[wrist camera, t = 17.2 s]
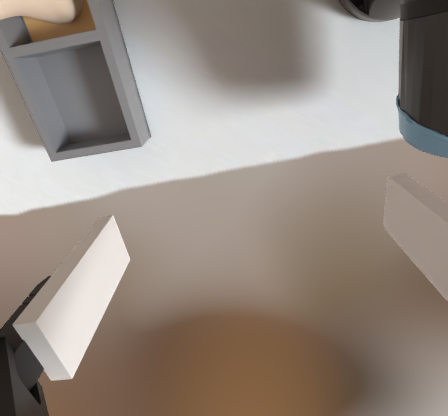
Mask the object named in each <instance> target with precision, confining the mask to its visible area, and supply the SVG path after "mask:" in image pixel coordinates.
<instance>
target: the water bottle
mask: <svg viewBox="0 0 448 416" xmlns="http://www.w3.org/2000/svg"><path fill="white" fill-rule="evenodd" d="M83 3H84V0H0V20H2V19H6V18H9V17H14V16H26V17H31V18H35V19H39V20H42V21H46V22H50V23H54V24H58V25H65V24H69V23H72V22H74V21H75V20H77V18H78V17H79V16H80V14H81V11H82V8H83Z"/></svg>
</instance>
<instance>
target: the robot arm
mask: <svg viewBox="0 0 448 416" xmlns="http://www.w3.org/2000/svg"><path fill="white" fill-rule="evenodd" d="M339 1H340V2H341V4H342V5H343V6H344V8H345V9H346V10H347V11H348V12H350V13H351V14H352V15H354V16H356V17H358V18H360V19H362V20H366V21H372V22H382V21H388V20H393V19H397V18H400V38H399V94H398V96H397V98H396V105H397V108H398V111H399V130H400V133H401V134H402V135H403V138H404V139H405V140H406V142H408V143H409V144H410V145H412V146H413V147H415V148H416V149H419V150H421V151H423V152H426V153H429V154H432V155H436V156H440V157H444V158H448V0H339ZM387 177H388V178H387V188H386V199H385V212H384V222H383V223H384V224H383V227H384V229H385V230H386V231H387V232H388V233H389V234H390V236H391V237H392V238H393V239H394V240H395V241H396V243H397V244H398V245H399V246H400V247H401V248H402V249H403V251H404V252H405V253H406V254H407V255H408V256H409V257H410V259H411V260H412V261H413V262H414V263H415V265H416V266H417V267H418V268H419V269H420V270H421V271H422V273H423V274H424V275H425V276H426V277H427V278H428V280H429V281H430V282H431V283H432V284H433V285H434V286H435V288H436V289H437V290H438V291H439V292H440V294H441V295H442V296H443V297H444V298H445V299H446V300H447V302H448V203H447V202H446V201H444V200H443V199H441V198H440V197H439V196H437V195H436V194H434V193H433V192H431V191H430V190H428V189H427V188H426V187H424V186H423V185H421V184H420V183H418V182H417V181H416V180H414V179H413V178H411V177H410V176H408V175H407V174H406V173H403V174H396V175H388V176H387ZM129 261H130V257H129V255H128V252H127V250H126V247H125V245H124V242H123V240H122V237H121V234H120V232H119V229H118V227H117V224H116V222H115V219H114V216H113V215H110V216H104V217H98V218H97V220H96V221H95V222H94V224H93V225H92V226H91V227H90V228H89V230H88V231H87V232H86V233H85V235H84V236H83V237H82V238H81V240H80V241H79V242H78V243H77V245H76V246H75V247H74V248H73V250H72V251H71V252H70V253H69V255H68V256H67V257H66V258H65V260H64V261H63V262H62V263H61V265H60V266H59V267H58V268H57V270H56V271H55V272H54V273H53V275H52V276H48V277H47V278H46V279H44V280H43V281H42V282H41V283H39V284H38V285H37V286H36V287H35V288H34V290H33V291H32V292H31V293H30V295H29V297H27V298H26V299H25V300H24V302H23V303H22V305H21V306H19V308H18V309H17V310H16V311H15V312H14V314H13V315H12V316H11V317H10V318H9V320H8V321H7V322H6V323H5V324H4V326H3V327H2V328H1V329H0V416H49V414H48V410H47V406H46V402H45V398H44V393H43V389H42V386H41V385H40V383H39V382H38V378H39V377H40V375H41V373H42V372H43V370H44V371H45V372H46V374H47V375H48V377H49V378H50V379H51V381H53V380H64V379H72V378H73V376H74V374H75V372H76V370H77V367H78V366H79V364H80V362H81V359H82V357H83V355H84V353H85V351H86V349H87V347H88V345H89V343H90V341H91V339H92V337H93V335H94V333H95V331H96V329H97V327H98V324H99V322H100V320H101V318H102V316H103V314H104V312H105V310H106V308H107V306H108V304H109V302H110V300H111V298H112V296H113V294H114V292H115V290H116V288H117V285H118V283H119V281H120V279H121V277H122V275H123V273H124V271H125V269H126V267H127V265H128V262H129Z"/></svg>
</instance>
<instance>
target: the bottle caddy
mask: <svg viewBox="0 0 448 416" xmlns="http://www.w3.org/2000/svg"><path fill="white" fill-rule="evenodd" d="M0 49H1V52H2V54H3V56H4V58H5V60H6V63H7V65H8V67H9V69H10V71H11V74H12V76H13V78H14V80H15V82H16V85H17V87H18V89H19V91H20V93H21V96H22V98H23V100H24V102H25V104H26V107H27V109H28V111H29V113H30V115H31V118H32V120H33V122H34V124H35V126H36V129H37V131H38V133H39V135H40V137H41V140H42V142H43V144H44V146H45V148H46V151H47V153H48V155H49V157H50V159H51V162H52V161H58V160H64V159H70V158H76V157H82V156H88V155H94V154H100V153H107V152H113V151H119V150H125V149H131V148H137V147H142V146H143V145H144V144H145V142H146V141H147V140H148V139H149V138H150V137H151V134H150V131H149V127H148V124H147V120H146V117H145V113H144V110H143V106H142V103H141V99H140V95H139V92H138V88H137V85H136V81H135V78H134V74H133V71H132V67H131V64H130V60H129V57H128V53H127V50H126V46H125V43H124V39H123V36H122V32H121V28H120V25H119V21H118V18H117V14H116V11H115V7H114V4H113V0H84V3H83V8H82V11H81V14H80V16H79V17H78V18H77V20H75V21H74V22H72V23H69V24H65V25H58V24H54V23H50V22H46V21H42V20H39V19H35V18H31V17H26V16H14V17H9V18H6V19H2V20H0Z"/></svg>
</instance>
